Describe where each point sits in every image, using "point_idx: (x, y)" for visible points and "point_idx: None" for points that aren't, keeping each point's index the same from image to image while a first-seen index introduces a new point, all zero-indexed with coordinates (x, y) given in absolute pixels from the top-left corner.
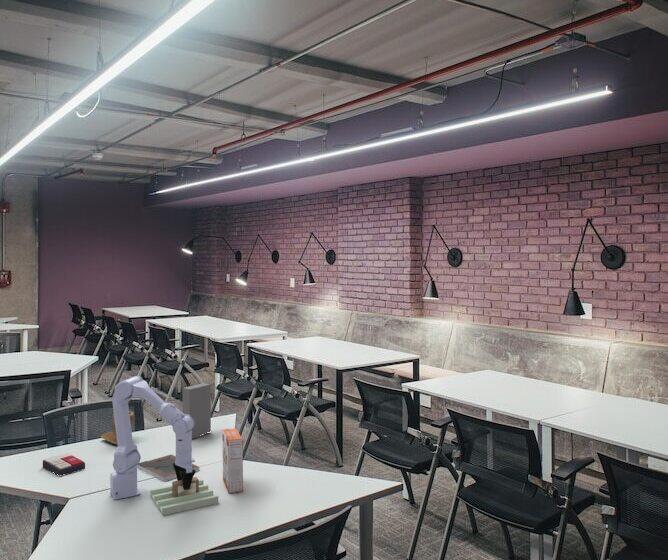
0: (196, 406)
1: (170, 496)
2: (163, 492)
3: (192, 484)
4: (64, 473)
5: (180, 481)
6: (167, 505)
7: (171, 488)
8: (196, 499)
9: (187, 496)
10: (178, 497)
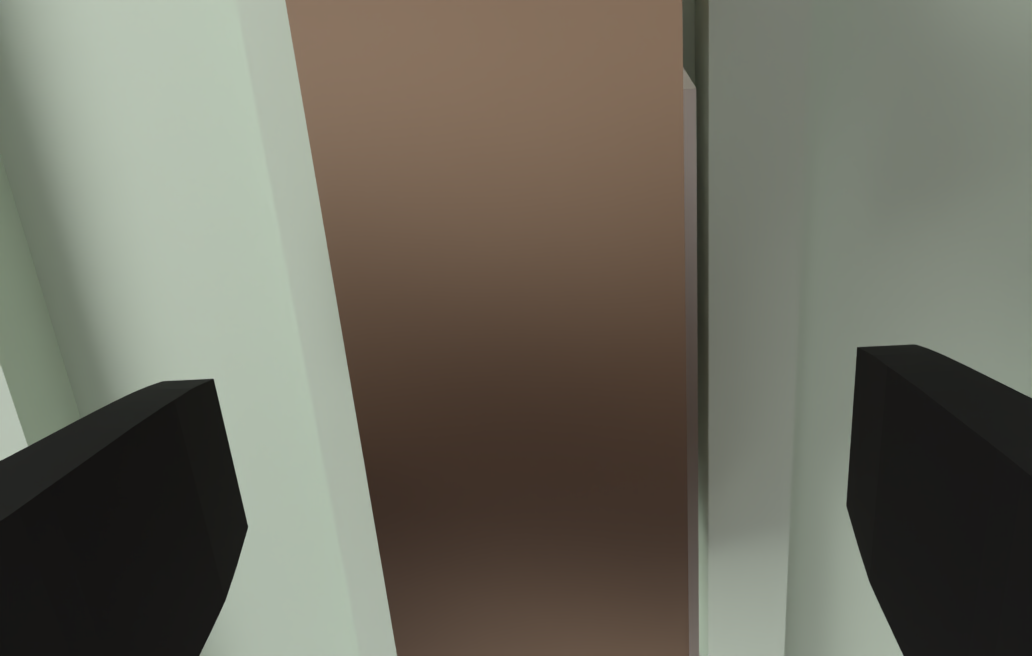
0: None
1: None
2: None
3: (696, 213)
4: None
5: (530, 633)
6: (811, 651)
7: None
8: (860, 49)
9: (793, 298)
10: (760, 502)
